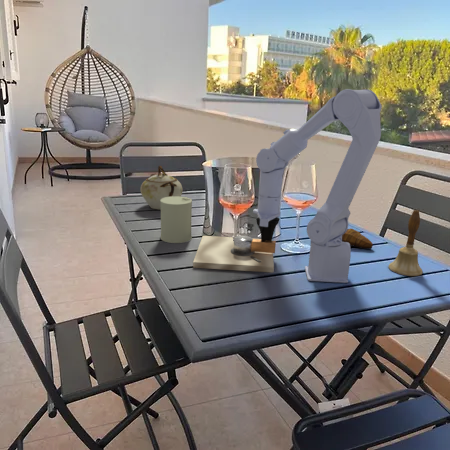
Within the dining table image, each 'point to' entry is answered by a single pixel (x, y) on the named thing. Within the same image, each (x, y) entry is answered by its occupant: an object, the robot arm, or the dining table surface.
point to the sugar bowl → (160, 188)
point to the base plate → (230, 256)
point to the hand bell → (408, 251)
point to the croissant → (356, 239)
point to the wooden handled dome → (253, 245)
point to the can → (176, 219)
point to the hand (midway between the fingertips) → (266, 244)
